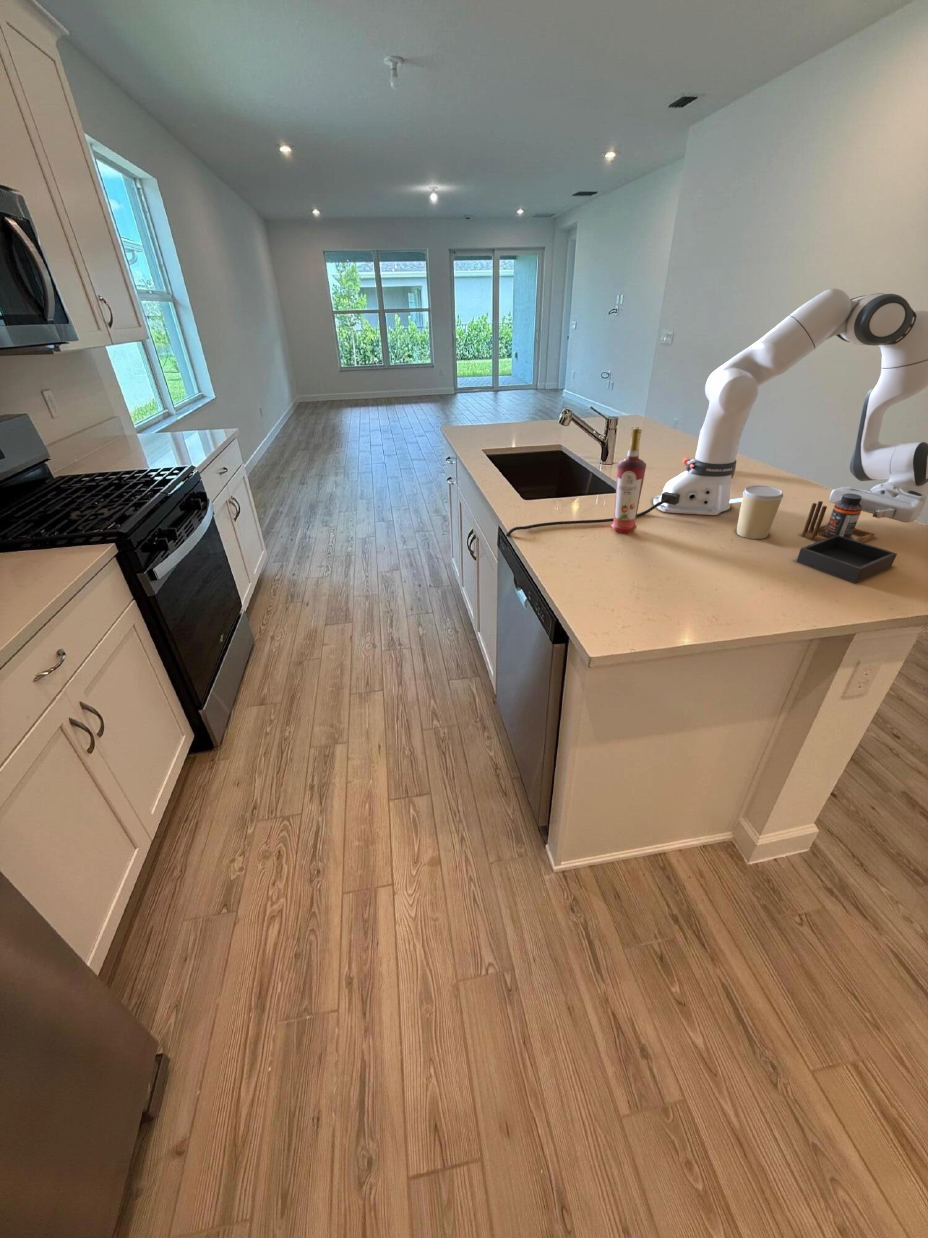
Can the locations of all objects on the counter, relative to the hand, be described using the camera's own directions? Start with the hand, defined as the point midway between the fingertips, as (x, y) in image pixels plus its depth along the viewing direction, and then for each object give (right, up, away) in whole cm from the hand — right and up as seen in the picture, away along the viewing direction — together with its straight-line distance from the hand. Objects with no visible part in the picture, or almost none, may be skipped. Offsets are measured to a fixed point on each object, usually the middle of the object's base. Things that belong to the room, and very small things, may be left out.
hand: (856, 509), depth 133 cm
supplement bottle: (-4, -7, +1) cm, 8 cm away
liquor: (-58, -4, +12) cm, 59 cm away
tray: (-13, -16, -12) cm, 24 cm away
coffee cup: (-24, -6, +6) cm, 26 cm away
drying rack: (-4, -7, +1) cm, 8 cm away
